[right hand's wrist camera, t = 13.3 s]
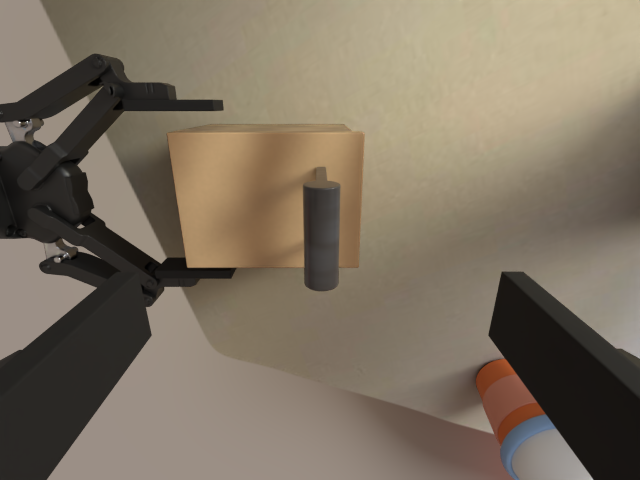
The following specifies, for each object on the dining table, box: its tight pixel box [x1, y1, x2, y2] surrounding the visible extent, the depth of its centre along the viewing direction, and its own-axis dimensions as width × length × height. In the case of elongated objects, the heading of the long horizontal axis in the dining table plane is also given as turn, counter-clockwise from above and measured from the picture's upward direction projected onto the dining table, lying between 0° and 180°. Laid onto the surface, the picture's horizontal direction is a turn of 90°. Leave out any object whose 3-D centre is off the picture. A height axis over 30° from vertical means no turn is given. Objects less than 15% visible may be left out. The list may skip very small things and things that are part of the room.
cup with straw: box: [476, 359, 593, 480], centre depth 36 cm, size 9×9×18 cm
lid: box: [167, 131, 365, 291], centre depth 23 cm, size 14×10×8 cm
